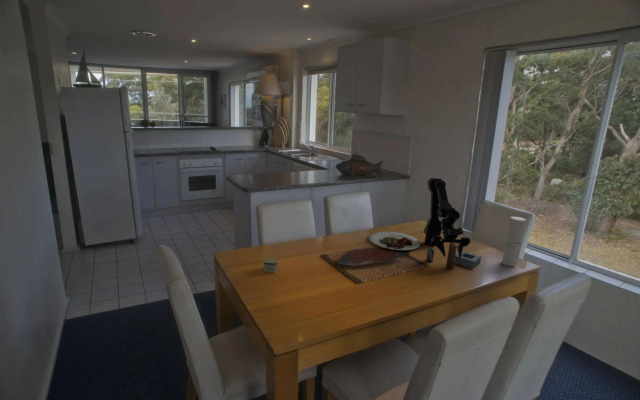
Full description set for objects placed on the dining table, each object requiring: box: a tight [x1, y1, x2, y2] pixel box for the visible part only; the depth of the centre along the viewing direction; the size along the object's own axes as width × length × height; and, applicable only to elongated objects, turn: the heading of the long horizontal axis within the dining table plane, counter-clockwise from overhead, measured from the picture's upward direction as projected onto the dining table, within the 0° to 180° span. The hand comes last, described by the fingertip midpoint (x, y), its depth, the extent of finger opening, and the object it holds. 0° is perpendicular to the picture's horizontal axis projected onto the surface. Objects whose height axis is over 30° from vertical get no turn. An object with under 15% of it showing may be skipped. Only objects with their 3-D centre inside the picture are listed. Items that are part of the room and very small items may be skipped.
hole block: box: [454, 250, 482, 270], centre depth 190 cm, size 10×10×4 cm
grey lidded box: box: [262, 257, 279, 274], centre depth 168 cm, size 10×9×6 cm
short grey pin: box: [425, 246, 435, 263], centre depth 190 cm, size 4×4×7 cm
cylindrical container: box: [501, 216, 527, 267], centre depth 191 cm, size 7×7×25 cm
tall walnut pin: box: [445, 242, 458, 270], centre depth 182 cm, size 4×4×13 cm
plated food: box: [368, 231, 421, 251], centre depth 215 cm, size 30×30×3 cm
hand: (452, 256), depth 181 cm, fingers open, 7 cm apart
